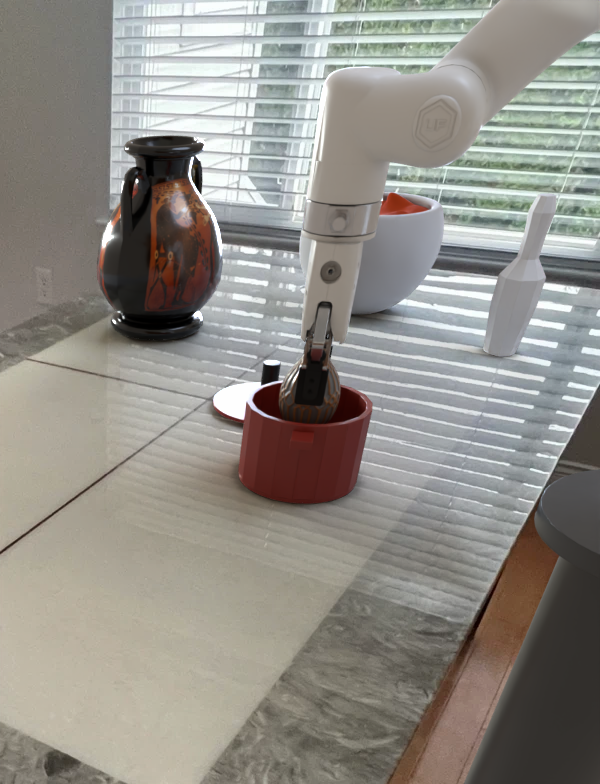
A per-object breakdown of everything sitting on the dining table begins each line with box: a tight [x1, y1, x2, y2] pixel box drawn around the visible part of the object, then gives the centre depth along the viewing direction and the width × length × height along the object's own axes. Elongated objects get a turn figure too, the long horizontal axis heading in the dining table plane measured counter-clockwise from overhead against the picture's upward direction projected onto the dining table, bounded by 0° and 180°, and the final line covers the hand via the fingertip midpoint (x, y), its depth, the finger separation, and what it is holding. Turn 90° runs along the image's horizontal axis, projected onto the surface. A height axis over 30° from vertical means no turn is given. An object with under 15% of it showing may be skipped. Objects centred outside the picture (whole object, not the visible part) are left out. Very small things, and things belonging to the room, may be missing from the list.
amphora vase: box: [96, 134, 224, 342], centre depth 141 cm, size 22×22×28 cm
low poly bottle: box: [482, 192, 557, 357], centre depth 129 cm, size 6×6×22 cm
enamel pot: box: [237, 380, 374, 505], centre depth 102 cm, size 14×20×10 cm
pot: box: [298, 191, 445, 315], centre depth 150 cm, size 24×24×18 cm
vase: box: [279, 347, 341, 424], centre depth 98 cm, size 7×7×9 cm
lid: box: [212, 359, 282, 424], centre depth 120 cm, size 15×15×7 cm
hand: (310, 390), depth 98 cm, fingers closed on vase, 6 cm apart
